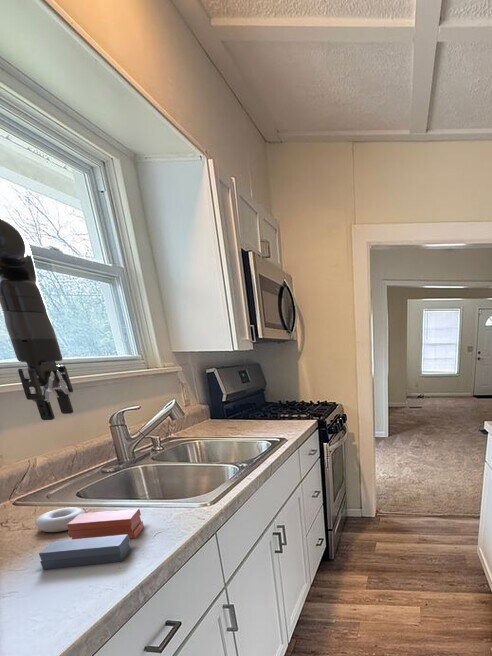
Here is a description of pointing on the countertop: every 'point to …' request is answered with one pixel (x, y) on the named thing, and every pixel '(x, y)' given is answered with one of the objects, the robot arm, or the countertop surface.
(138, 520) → the orange-red flat block
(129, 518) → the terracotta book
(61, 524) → the donut
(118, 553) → the grey rectangular block
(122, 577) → the countertop surface
